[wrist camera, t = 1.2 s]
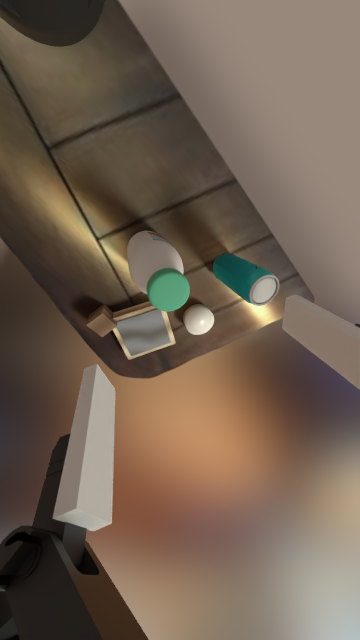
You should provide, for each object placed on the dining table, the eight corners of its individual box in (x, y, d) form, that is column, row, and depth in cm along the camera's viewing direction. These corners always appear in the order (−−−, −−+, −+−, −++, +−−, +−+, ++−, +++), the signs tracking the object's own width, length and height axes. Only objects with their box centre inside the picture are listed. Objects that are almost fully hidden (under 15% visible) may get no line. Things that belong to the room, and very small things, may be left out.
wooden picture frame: (108, 314, 40) (107, 320, 38) (161, 297, 42) (163, 302, 39) (128, 352, 47) (128, 360, 45) (173, 337, 48) (176, 344, 46)
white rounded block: (180, 309, 44) (183, 315, 42) (207, 300, 45) (212, 305, 43) (185, 331, 48) (189, 338, 46) (210, 322, 49) (215, 329, 47)
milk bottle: (137, 277, 38) (149, 334, 22) (119, 239, 33) (117, 274, 17) (172, 263, 38) (210, 308, 22) (158, 223, 34) (194, 243, 18)
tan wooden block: (89, 314, 39) (86, 325, 36) (103, 303, 39) (102, 313, 36) (103, 326, 42) (102, 337, 38) (117, 316, 41) (117, 326, 38)
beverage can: (226, 280, 44) (267, 310, 31) (205, 273, 41) (241, 303, 29) (238, 256, 41) (288, 279, 29) (217, 247, 39) (261, 268, 27)
